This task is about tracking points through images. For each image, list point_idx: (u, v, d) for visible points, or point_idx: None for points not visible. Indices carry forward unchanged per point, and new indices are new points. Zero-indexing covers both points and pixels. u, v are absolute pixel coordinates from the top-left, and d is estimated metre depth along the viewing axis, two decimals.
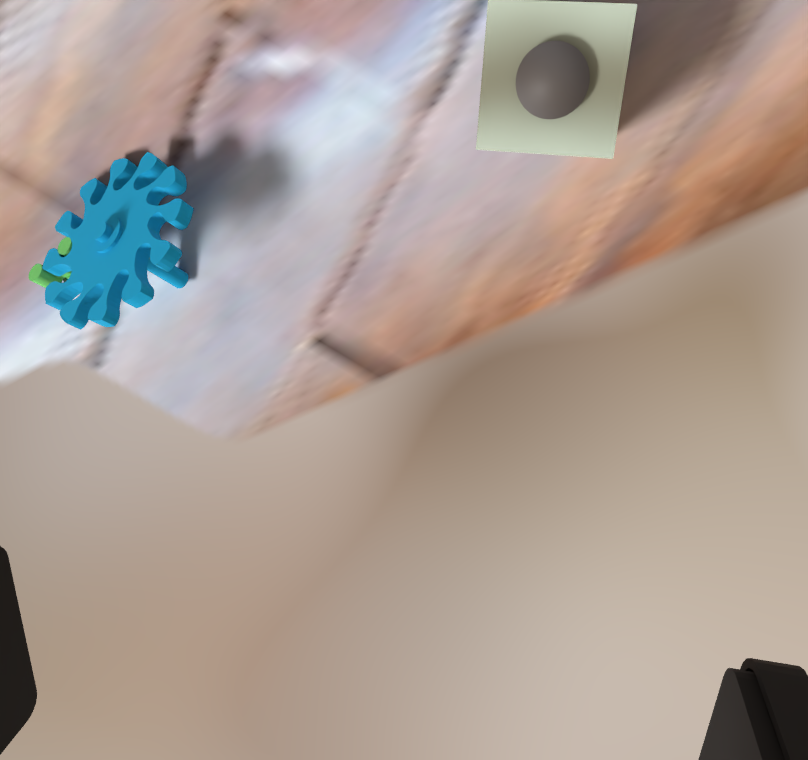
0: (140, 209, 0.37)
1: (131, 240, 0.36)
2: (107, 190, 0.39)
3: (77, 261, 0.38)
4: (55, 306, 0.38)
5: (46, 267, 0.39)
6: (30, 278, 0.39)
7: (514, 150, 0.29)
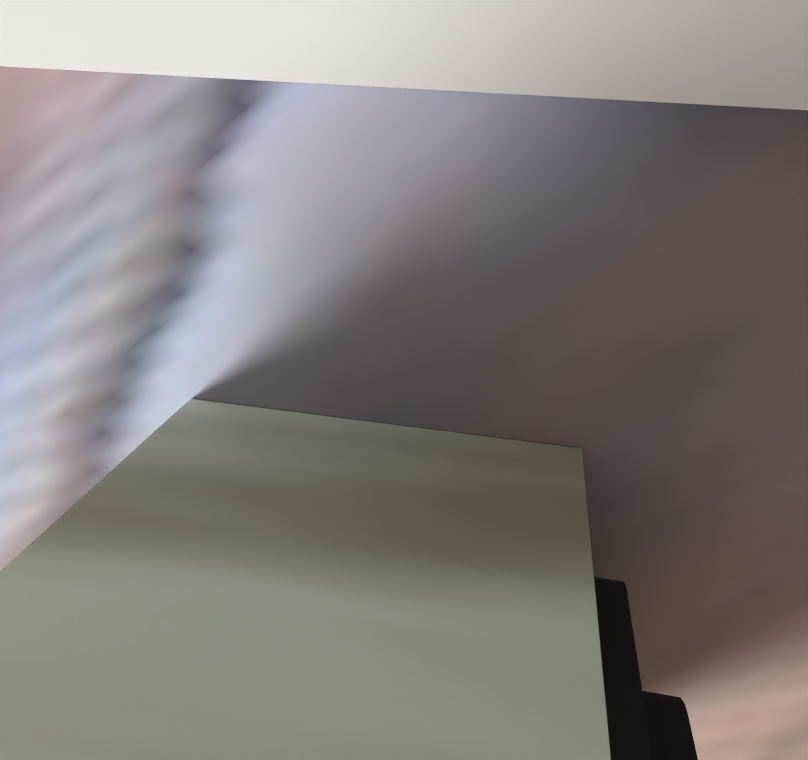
0: None
1: None
2: None
3: None
4: None
5: None
6: None
7: None
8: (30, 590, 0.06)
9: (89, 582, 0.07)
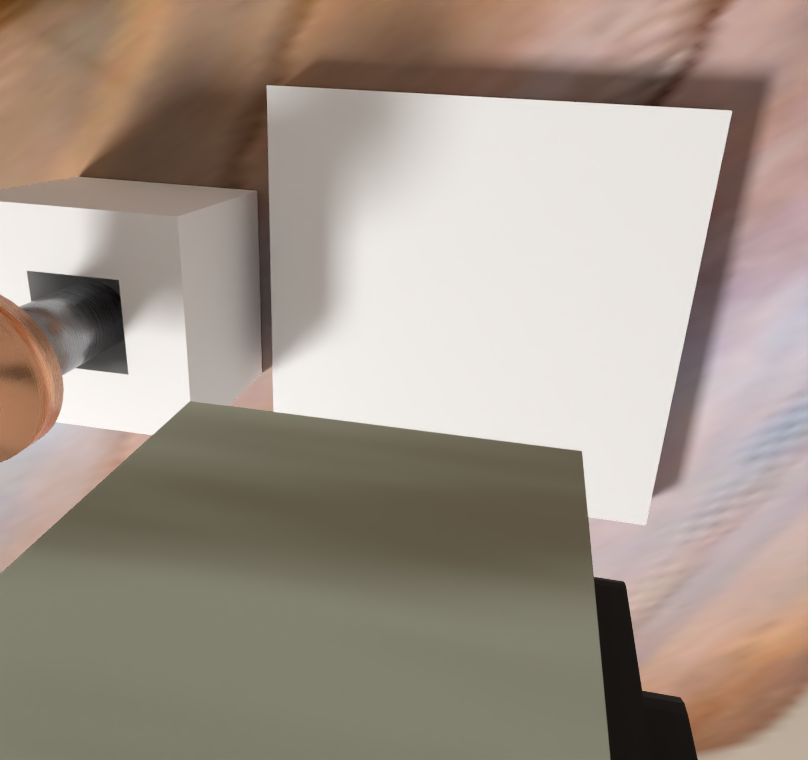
0: None
1: None
2: None
3: None
4: None
5: None
6: None
7: None
8: (28, 594, 0.06)
9: (87, 586, 0.07)
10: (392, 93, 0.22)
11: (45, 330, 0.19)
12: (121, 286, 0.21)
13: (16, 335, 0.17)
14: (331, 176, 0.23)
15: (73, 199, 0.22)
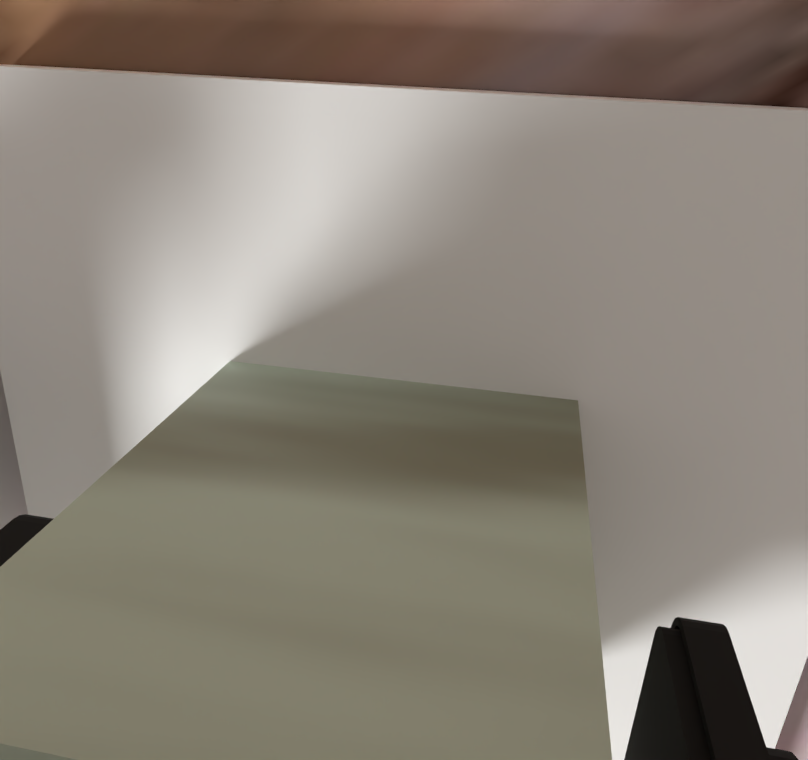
0: None
1: None
2: None
3: None
4: None
5: None
6: None
7: None
8: (114, 502, 0.08)
9: (162, 497, 0.08)
10: (202, 80, 0.10)
11: None
12: None
13: None
14: (98, 253, 0.11)
15: None
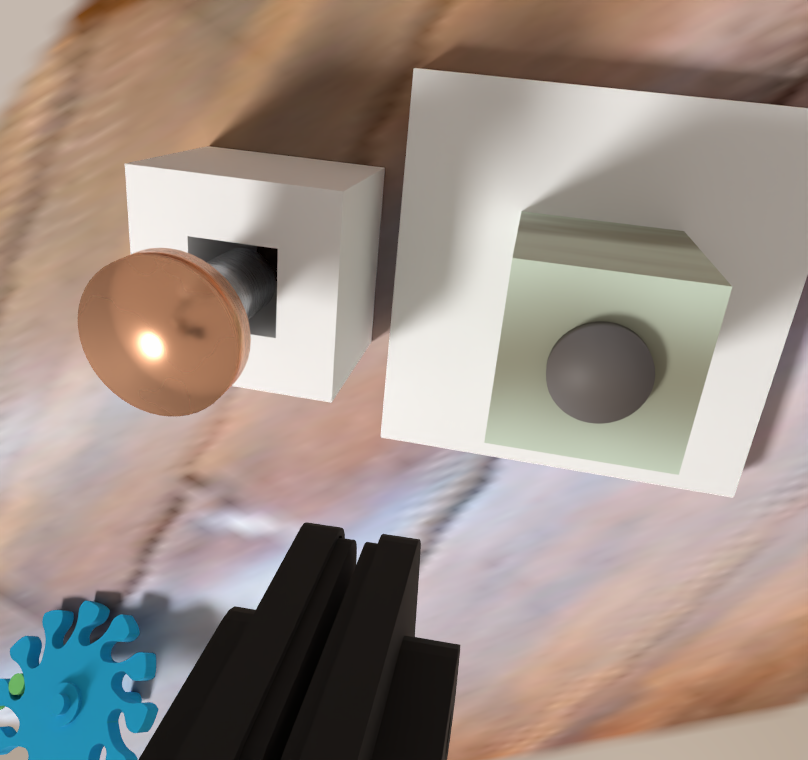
0: (103, 691, 0.35)
1: (87, 729, 0.35)
2: (72, 638, 0.37)
3: (27, 717, 0.36)
4: None
5: None
6: None
7: (538, 449, 0.21)
8: (530, 237, 0.21)
9: (546, 237, 0.21)
10: (535, 81, 0.23)
11: None
12: (278, 255, 0.22)
13: (221, 298, 0.18)
14: (467, 157, 0.25)
15: (232, 170, 0.23)
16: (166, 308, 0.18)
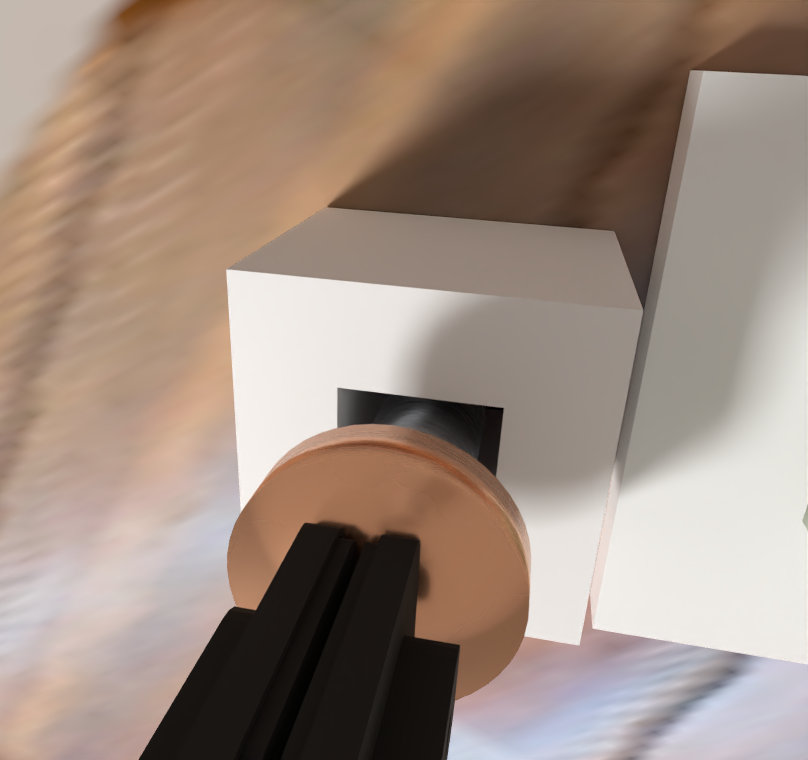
0: None
1: None
2: None
3: None
4: None
5: None
6: None
7: None
8: None
9: None
10: None
11: None
12: (503, 417, 0.13)
13: (505, 525, 0.10)
14: (785, 217, 0.15)
15: (408, 266, 0.13)
16: None
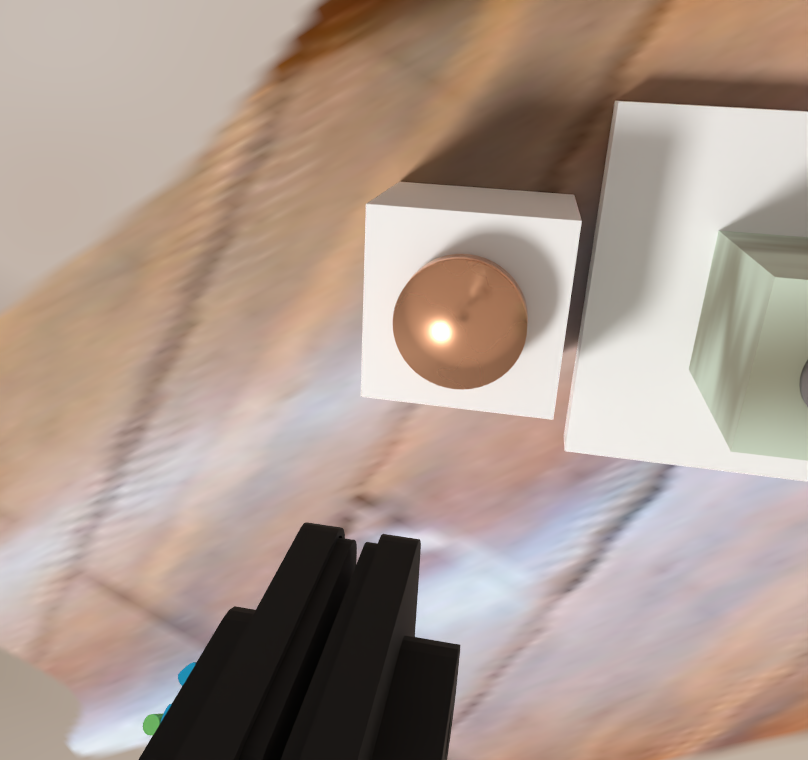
0: None
1: None
2: None
3: None
4: None
5: None
6: (145, 729, 0.39)
7: (785, 456, 0.22)
8: (761, 256, 0.22)
9: (775, 255, 0.23)
10: (739, 109, 0.25)
11: None
12: None
13: (517, 290, 0.23)
14: (667, 182, 0.26)
15: (459, 204, 0.24)
16: (471, 301, 0.23)
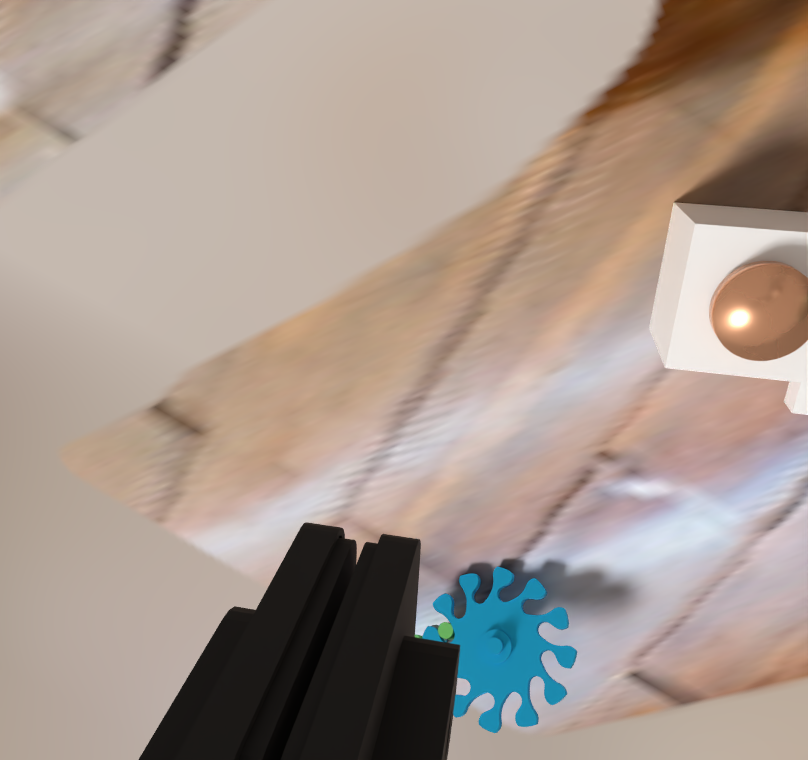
0: (530, 636, 0.45)
1: (522, 665, 0.45)
2: (491, 596, 0.47)
3: (462, 656, 0.46)
4: None
5: None
6: None
7: None
8: None
9: None
10: None
11: None
12: None
13: None
14: None
15: (757, 223, 0.33)
16: (779, 295, 0.31)
